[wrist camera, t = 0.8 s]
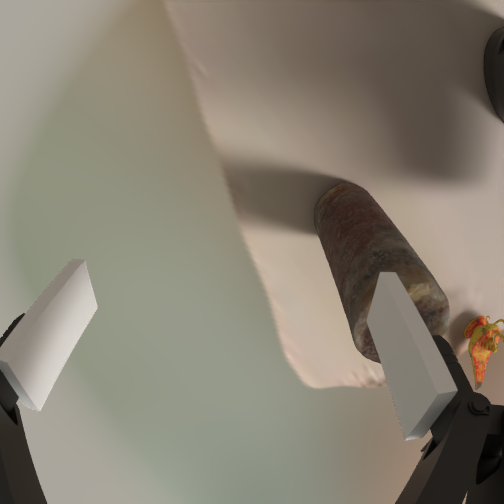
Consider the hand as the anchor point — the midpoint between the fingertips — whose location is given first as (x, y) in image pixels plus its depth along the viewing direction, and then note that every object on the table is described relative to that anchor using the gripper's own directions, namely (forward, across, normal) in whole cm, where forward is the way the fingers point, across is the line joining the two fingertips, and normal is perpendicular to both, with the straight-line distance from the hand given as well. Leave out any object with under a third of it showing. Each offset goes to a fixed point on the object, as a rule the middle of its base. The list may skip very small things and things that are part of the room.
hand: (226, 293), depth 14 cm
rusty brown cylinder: (+23, +11, -5) cm, 26 cm away
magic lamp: (+24, +41, -26) cm, 54 cm away
